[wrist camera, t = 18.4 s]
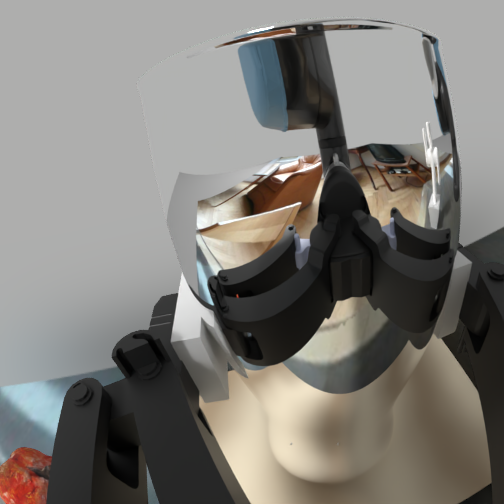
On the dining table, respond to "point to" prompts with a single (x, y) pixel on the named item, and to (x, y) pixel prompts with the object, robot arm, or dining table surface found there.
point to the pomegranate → (25, 477)
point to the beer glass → (313, 218)
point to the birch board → (396, 456)
